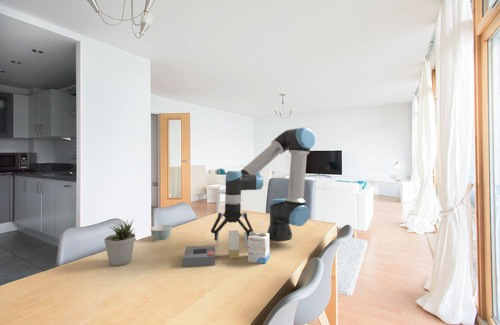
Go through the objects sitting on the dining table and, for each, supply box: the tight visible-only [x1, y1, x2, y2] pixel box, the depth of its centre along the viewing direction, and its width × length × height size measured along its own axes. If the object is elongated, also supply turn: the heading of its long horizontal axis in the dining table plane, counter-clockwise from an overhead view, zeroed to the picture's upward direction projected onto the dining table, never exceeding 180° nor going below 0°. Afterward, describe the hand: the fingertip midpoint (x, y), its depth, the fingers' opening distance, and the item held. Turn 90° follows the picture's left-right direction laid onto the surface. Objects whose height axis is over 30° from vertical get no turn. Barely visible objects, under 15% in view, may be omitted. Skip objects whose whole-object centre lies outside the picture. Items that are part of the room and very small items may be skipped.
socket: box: [182, 244, 216, 268], centre depth 116 cm, size 14×14×5 cm
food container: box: [150, 224, 173, 241], centre depth 147 cm, size 12×12×6 cm
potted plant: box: [104, 219, 137, 267], centre depth 113 cm, size 13×14×20 cm
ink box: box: [247, 231, 271, 265], centre depth 117 cm, size 9×8×13 cm
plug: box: [228, 229, 240, 259], centre depth 121 cm, size 4×4×12 cm
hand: (231, 246), depth 120 cm, fingers open, 13 cm apart
